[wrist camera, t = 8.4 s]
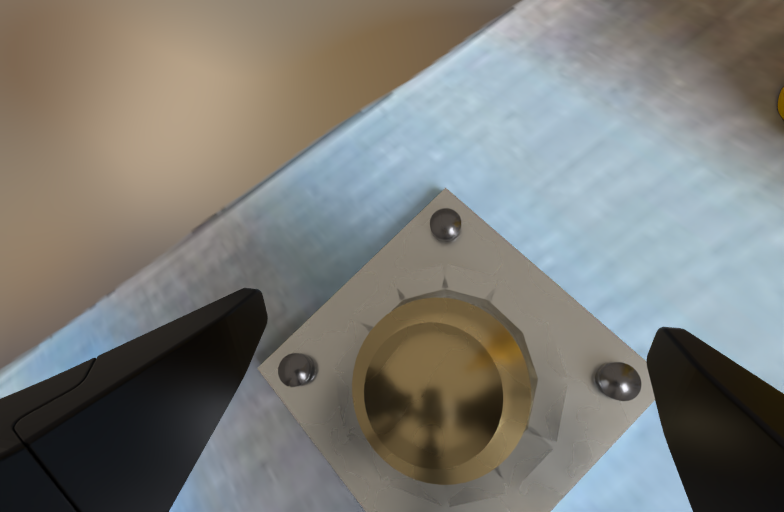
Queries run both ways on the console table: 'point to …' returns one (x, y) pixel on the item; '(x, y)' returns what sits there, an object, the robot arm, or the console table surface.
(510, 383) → the gold metal cylinder
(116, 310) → the console table surface
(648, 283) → the console table surface
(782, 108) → the yellow tall sculpted piece
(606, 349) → the flange large
